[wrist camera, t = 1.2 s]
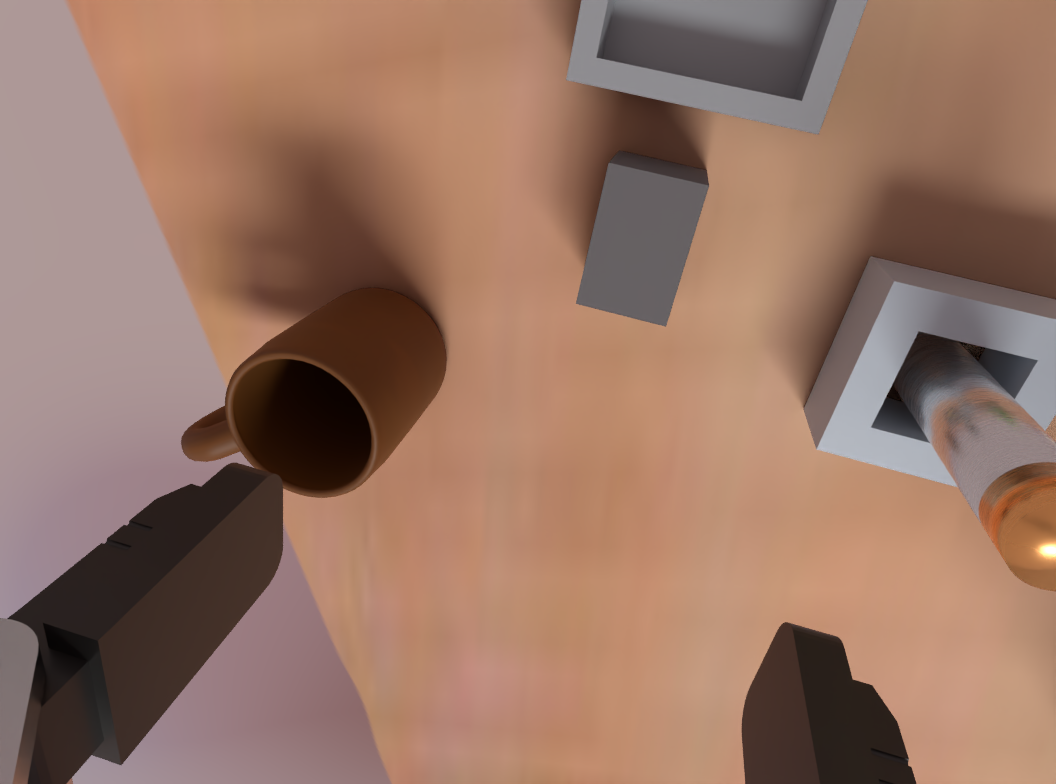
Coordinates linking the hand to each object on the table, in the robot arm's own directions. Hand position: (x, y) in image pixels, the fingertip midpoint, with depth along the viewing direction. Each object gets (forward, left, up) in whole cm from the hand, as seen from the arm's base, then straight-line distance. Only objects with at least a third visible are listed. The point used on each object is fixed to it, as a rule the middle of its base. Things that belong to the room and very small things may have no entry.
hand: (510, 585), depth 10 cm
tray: (-1, -11, -24) cm, 26 cm away
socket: (-14, +2, -24) cm, 28 cm away
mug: (+14, +10, -24) cm, 30 cm away
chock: (0, -1, -24) cm, 24 cm away
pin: (-14, +2, -24) cm, 28 cm away
